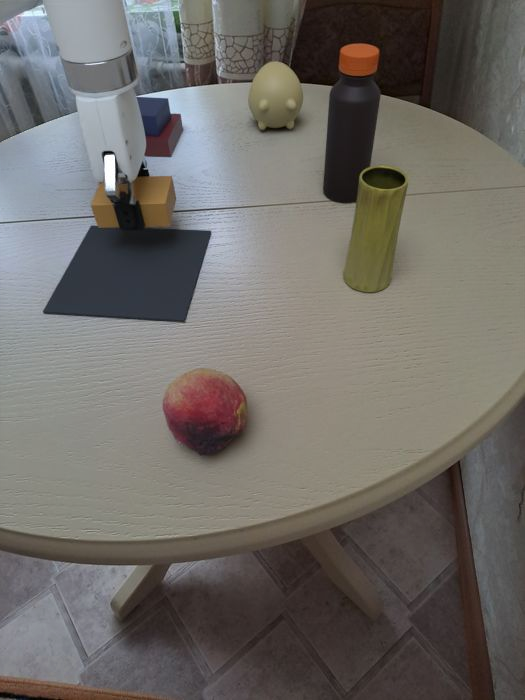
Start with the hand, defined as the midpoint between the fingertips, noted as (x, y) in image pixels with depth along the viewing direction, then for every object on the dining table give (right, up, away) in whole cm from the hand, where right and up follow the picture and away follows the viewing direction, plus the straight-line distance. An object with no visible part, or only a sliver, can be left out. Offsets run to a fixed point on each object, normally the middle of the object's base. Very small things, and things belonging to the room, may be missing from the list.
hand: (137, 211), depth 67 cm
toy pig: (+19, +24, +26) cm, 40 cm away
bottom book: (-6, +19, +24) cm, 31 cm away
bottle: (+30, +6, +11) cm, 32 cm away
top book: (0, 0, 0) cm, 0 cm away
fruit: (+12, -27, -17) cm, 34 cm away
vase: (+30, -9, -2) cm, 32 cm away
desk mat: (-1, -8, 0) cm, 8 cm away
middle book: (-6, +21, +21) cm, 30 cm away
